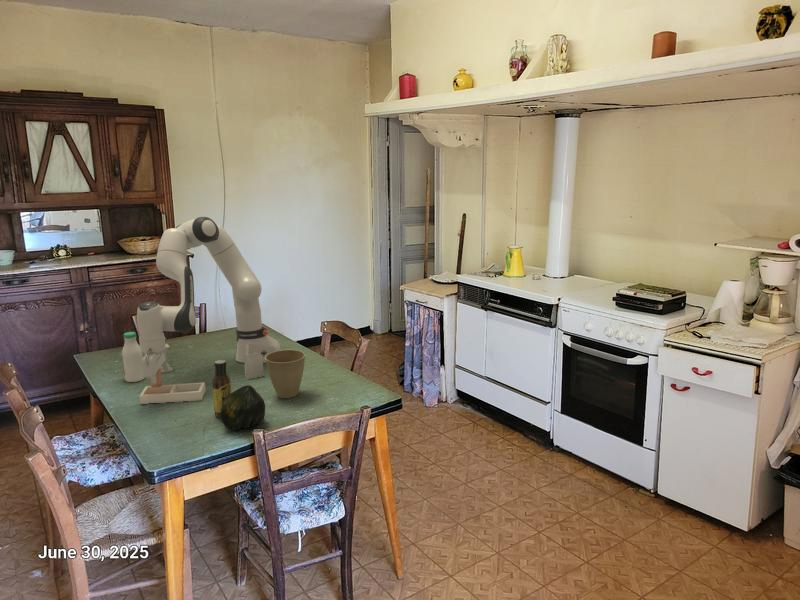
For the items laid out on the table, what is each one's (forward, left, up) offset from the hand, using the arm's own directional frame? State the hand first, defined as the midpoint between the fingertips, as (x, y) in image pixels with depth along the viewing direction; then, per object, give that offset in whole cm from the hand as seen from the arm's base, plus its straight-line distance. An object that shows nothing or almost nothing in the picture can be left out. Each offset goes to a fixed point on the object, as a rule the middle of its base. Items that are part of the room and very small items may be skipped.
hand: (156, 380), depth 230 cm
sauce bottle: (-27, +20, -8) cm, 34 cm away
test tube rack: (+8, -42, -8) cm, 43 cm away
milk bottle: (+14, -24, -8) cm, 29 cm away
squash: (-35, +30, -8) cm, 46 cm away
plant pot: (-49, +6, -8) cm, 50 cm away
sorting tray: (-6, 0, -7) cm, 9 cm away
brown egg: (0, 0, -2) cm, 2 cm away
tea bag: (-35, -17, -8) cm, 39 cm away
